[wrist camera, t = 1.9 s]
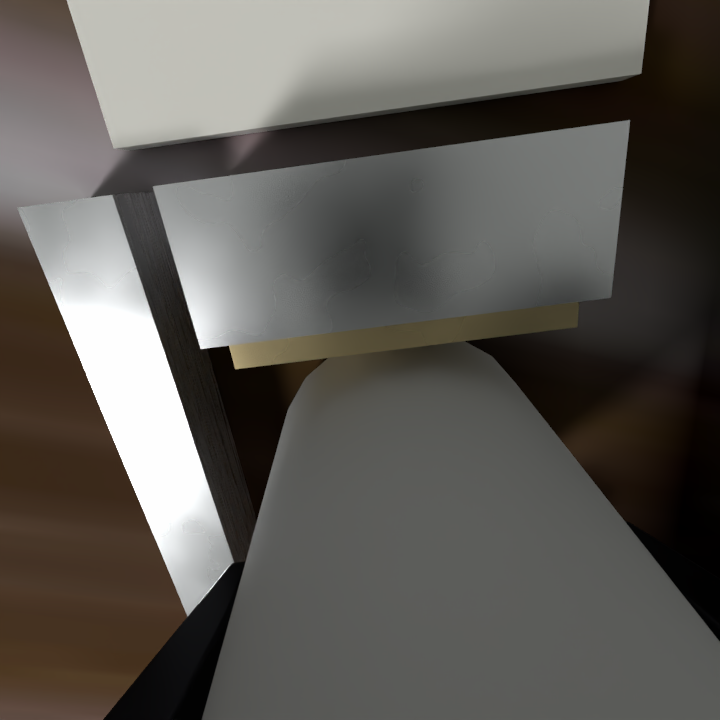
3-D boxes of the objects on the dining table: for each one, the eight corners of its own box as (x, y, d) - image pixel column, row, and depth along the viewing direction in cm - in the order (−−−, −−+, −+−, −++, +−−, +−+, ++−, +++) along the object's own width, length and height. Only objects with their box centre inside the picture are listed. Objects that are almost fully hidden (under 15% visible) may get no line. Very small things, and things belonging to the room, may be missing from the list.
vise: (520, 589, 17) (567, 704, 13) (234, 619, 17) (203, 738, 14) (534, 139, 11) (630, 119, 7) (87, 201, 11) (-46, 213, 7)
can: (252, 357, 13) (-339, 1421, 2) (499, 289, 12) (1869, 1346, 1) (327, 538, 16) (268, 1377, 5) (531, 491, 15) (1017, 1349, 4)
